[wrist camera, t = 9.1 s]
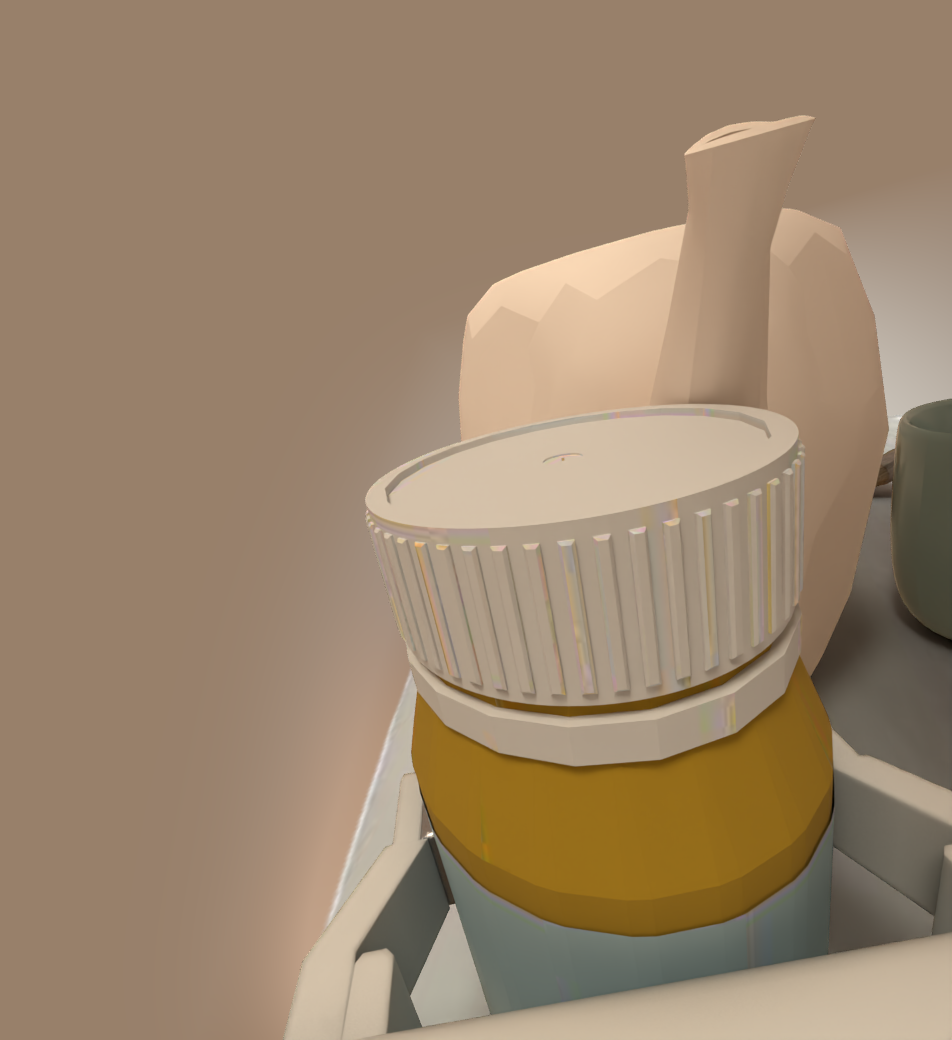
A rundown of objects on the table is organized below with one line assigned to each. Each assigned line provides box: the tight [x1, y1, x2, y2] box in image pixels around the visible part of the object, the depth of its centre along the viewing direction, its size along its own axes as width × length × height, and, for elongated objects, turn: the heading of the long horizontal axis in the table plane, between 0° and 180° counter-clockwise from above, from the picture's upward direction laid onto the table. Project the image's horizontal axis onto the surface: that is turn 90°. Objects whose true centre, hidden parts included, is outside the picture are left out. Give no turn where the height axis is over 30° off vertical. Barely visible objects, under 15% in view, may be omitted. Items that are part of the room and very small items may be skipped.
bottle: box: [365, 404, 835, 1015], centre depth 10 cm, size 7×7×15 cm
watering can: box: [459, 115, 889, 676], centre depth 21 cm, size 16×27×19 cm, turn 170°
